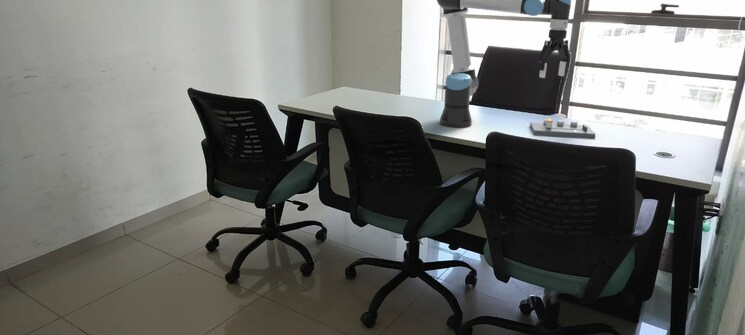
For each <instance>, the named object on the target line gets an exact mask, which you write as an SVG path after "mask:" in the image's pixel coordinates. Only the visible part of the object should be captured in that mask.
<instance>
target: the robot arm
mask: <svg viewBox="0 0 745 335" xmlns="http://www.w3.org/2000/svg"><path fill="white" fill-rule="evenodd" d="M436 2H437V4H438V5H439V7H440V8H442V12H443V16H444V17H445V18H446V19H447V27H448V34H449V43H450V49H451V50H450V51H451V57H452V66H453V67H452V70H450V74H448V75H447V76H446V78H445V88H444V89H445V92H444V104H443V105H444V107H443V110H442V113H441V115H440V118H439V124H440V125H441V126H444V127H449V128H466V127H467V128H468V127H470V126H472V121H473V120H472V116H471V112H470V102H471V101H470V99H471V98H470V97H471V96H473V95H474V94H475V93H476V92H477V90H478V88H479V79H478V77H477V75H476V70H475V67H474V66H473V65H472V62H471V54H470V53H471V52H470V45H469V37H468V28H467V19H466V15H467V14H468V12H469V9H476V10H485V11H493V12H502V13H509V14H510V13H511V14H520V15H528V16H532V17H535V16H536V17H537V16H539V15H541V16H544V15H545V16H551V17H550V23H549V28H550V29H549V30H548V39H549V40H545V41H544V43H543V47H542V49H541V51H540V52H539V56H538V57H537V62H538V63H540V66H539V78H540V79H541V78H542V79H545V78H546V75H547V74H546V73H547V64H548V63H547V61H548V60H549V58H550V57H551V55H552V54H553V53H554V52H555V51H557V52H558V54H559V58H560V61H559V65H558V66H559V67H558V74H557V76H560V77H565V71H566V67H567V63H568V62H570V60H571V56H570V50H569V39H566V38H567V35H568V34H567V33H568V30H567V29H568V25H569V24H568V23H569V20H570V12H571V6H572V0H436Z"/></svg>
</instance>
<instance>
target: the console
mask: <svg viewBox="0 0 745 335" xmlns="http://www.w3.org/2000/svg"><path fill="white" fill-rule="evenodd" d="M546 121H547V119H543V122H532V121H531V122H529V127H530V130H531V131H532V134H533V135H534V136H550V137H551V136H552V137H568V138H569V137H570V138H581V139H582V138H583V139H584V138H586V139H587V138H588V139H595V138H596V132H594V131H593V130H592V128H591V127H590V126H589V125H588V124H578V121H574V120H571V121H570V123H569V124H568V123H565V121H564V120H557V121H556V123H553V122H552V128H547V127H546Z"/></svg>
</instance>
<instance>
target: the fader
mask: <svg viewBox="0 0 745 335" xmlns="http://www.w3.org/2000/svg"><path fill="white" fill-rule="evenodd" d="M546 120H547V121H546V127H547V128H552V123H553V119H552V118H546Z"/></svg>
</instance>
